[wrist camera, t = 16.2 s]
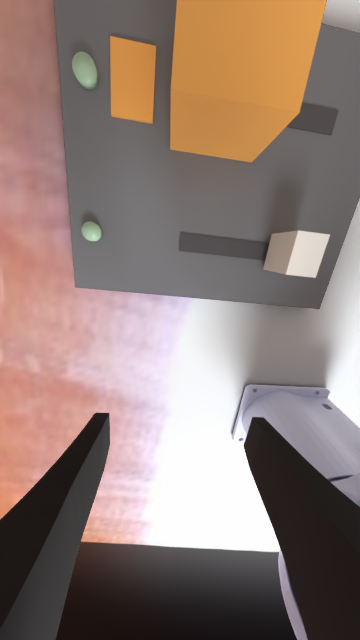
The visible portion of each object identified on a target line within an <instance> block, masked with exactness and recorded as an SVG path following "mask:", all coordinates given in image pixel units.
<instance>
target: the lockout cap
mask: <svg viewBox="0 0 360 640" xmlns="http://www.w3.org/2000/svg"><path fill="white" fill-rule="evenodd" d="M326 2H327V0H177V6H176V21H175V35H174V49H173V63H172V77H171V114H170V150H176V151H182V152H189V153H195V154H201V155H207V156H213V157H220V158H226V159H232V160H238V161H245V162H251V163H252V162H253V161H254V160H255V159H256V158H257V157H258V155H259V154H260V153H261V152H262V151H263V150H264V149H265V148H266V147H267V146H268V145H269V144H270V143H271V142H272V141H273V140H274V139H275V138H276V137H277V136H278V135H279V134H280V133H281V131H282V130H283V129H284V128H285V127H286V126H287V125H288V124H289V123H290V122H291V121H292V120H293V119H294V118H295V117H296V116H297V115H298V114H299V113H300V108H301V104H302V100H303V96H304V92H305V88H306V84H307V80H308V76H309V72H310V68H311V63H312V59H313V55H314V51H315V47H316V43H317V39H318V35H319V31H320V27H321V23H322V18H323V14H324V10H325V6H326Z"/></svg>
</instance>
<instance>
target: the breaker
mask: <svg viewBox="0 0 360 640" xmlns="http://www.w3.org/2000/svg"><path fill="white" fill-rule="evenodd" d="M329 237H330V235H329V234H322V233H314V232H306V231H299V230H298V231H290V232H282V233H275V234H272V235H271V239H270V243H269V247H268V251H267V255H266V260H265V264H264V268H263V270H267V271H272V272H276V273H281V274H285V275H294V276H303V277H313V278H316V275H317V272H318V269H319V266H320V263H321V260H322V257H323V254H324V252H325V249H326V246H327V243H328V240H329Z"/></svg>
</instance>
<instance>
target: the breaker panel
mask: <svg viewBox="0 0 360 640" xmlns="http://www.w3.org/2000/svg"><path fill="white" fill-rule="evenodd" d="M176 6H177V0H54V10H55V24H56V37H57V51H58V64H59V78H60V91H61V104H62V118H63V131H64V145H65V158H66V172H67V185H68V199H69V212H70V225H71V239H72V252H73V266H74V279H75V287H77V288H88V289H100V290H111V291H122V292H133V293H145V294H156V295H167V296H178V297H190V298H201V299H212V300H223V301H235V302H246V303H257V304H269V305H280V306H291V307H302V308H314V309H320V306H321V303H322V300H323V297H324V295H325V292H326V289H327V286H328V284H329V281H330V278H331V275H332V273H333V270H334V267H335V264H336V262H337V259H338V256H339V253H340V251H341V248H342V245H343V242H344V239H345V237H346V234H347V231H348V228H349V226H350V223H351V220H352V217H353V215H354V212H355V209H356V206H357V204H358V201H359V198H360V33H357V32H353V31H349V30H345V29H341V28H337V27H333V26H329V25H325V24H321V27H320V31H319V35H318V39H317V43H316V47H315V51H314V55H313V59H312V63H311V68H310V72H309V76H308V80H307V84H306V88H305V92H304V96H303V100H302V104H301V108H300V113H299V114H298V115H297V116H296V117H295V118H294V119H293V120H292V121H291V122H290V123H289V124H288V125H287V126H286V127H285V128H284V129H283V130H282V131H281V133H280V134H279V135H278V136H277V137H276V138H275V139H274V140H273V141H272V142H271V143H270V144H269V145H268V146H267V147H266V148H265V149H264V150H263V151H262V152H261V153H260V154H259V155H258V157H257V158H256V159H255V160H254V161H253V162H252V163H251V162H245V161H238V160H232V159H226V158H220V157H213V156H207V155H201V154H195V153H189V152H182V151H176V150H170V114H171V77H172V63H173V49H174V35H175V21H176ZM298 230H299V231H306V232H314V233H322V234H329V235H330V237H329V240H328V243H327V246H326V249H325V252H324V254H323V257H322V260H321V263H320V266H319V269H318V272H317V275H316V278H313V277H303V276H294V275H285V274H281V273H276V272H272V271H267V270H263V268H264V264H265V260H266V255H267V251H268V247H269V243H270V239H271V235H272V234H275V233H282V232H290V231H298Z"/></svg>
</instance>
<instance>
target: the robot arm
mask: <svg viewBox="0 0 360 640" xmlns="http://www.w3.org/2000/svg"><path fill="white" fill-rule="evenodd" d="M254 389H255V390H254ZM328 395H329V390H328V389H327V388H320V387H298V386H275V385H253V384H250V385H247V386H246V387H245V390H244V393H243V397H242V401H241V405H240V409H239V412H238V416H237V420H236V424H235V427H234V431H233V435H232V439H233V441H234V442H245V443H244V449H245V452H246V456H247V460H248V463H249V467H250V470H251V472H252V475H253V478H254V480H255V483H256V485H257V488H258V490H259V493H260V495H261V498H262V500H263V503H264V505H265V508H266V511H267V513H268V516H269V518H270V521H271V523H272V526H273V528H274V531H275V534H276V537H277V539H278V542H279V545H280V549H281V550H280V553H279V574H280V582H281V589H282V593H283V598H284V602H285V605H286V609H287V612H288V615H289V618H290V621H291V624H292V627H293V629H294V632H295V634H296V637H297V640H360V428H359V427H358V426H357V425H356V424H355V423H354V422H353V421H351V420H350V419H349V418H348V417H347V416H346V415H345V414H344V413H343V412H342V411H341V410H340V409H339V408H337V407H336V406H335V405H334V404H333V403H332V402H331V401H330V400H329V399H328V398H327V397H328ZM109 446H110V424H109V413H95V414H94V415H93V417H92V418H91V419H90V421H89V422H88V423H87V425H86V426H85V427H84V429H83V430H82V431H81V432H80V434H79V435H78V436H77V438H76V439H75V440H74V441H73V442H72V444H71V445H70V446H69V447H68V448H67V450H66V451H65V452H64V453H63V454H62V456H61V457H60V458H59V459H58V460H57V461H56V462H55V464H54V465H53V466H52V467H51V468H50V469H49V470H48V471H47V472H46V474H45V475H44V476H43V477H42V478H41V479H40V480H39V481H38V482H37V483H36V484H35V485H34V487H33V488H32V489H31V490H30V491H29V492H28V493H27V494H26V495H25V496H24V497H23V498H22V499H21V500H20V501H19V502H18V503H17V504H16V505H15V506H14V507H13V508H12V509H11V510H10V511H9V512H8V513H7V514H6V515H5V516H4V517H3V518H2V519H0V640H55V639H56V635H57V631H58V627H59V623H60V619H61V615H62V611H63V607H64V603H65V599H66V595H67V591H68V587H69V583H70V580H71V575H72V572H73V568H74V564H75V560H76V556H77V552H78V549H79V545H80V542H81V539H82V535H83V532H84V529H85V526H86V523H87V520H88V517H89V514H90V511H91V508H92V505H93V502H94V499H95V496H96V493H97V490H98V486H99V483H100V480H101V477H102V474H103V471H104V468H105V463H106V459H107V455H108V450H109Z"/></svg>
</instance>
